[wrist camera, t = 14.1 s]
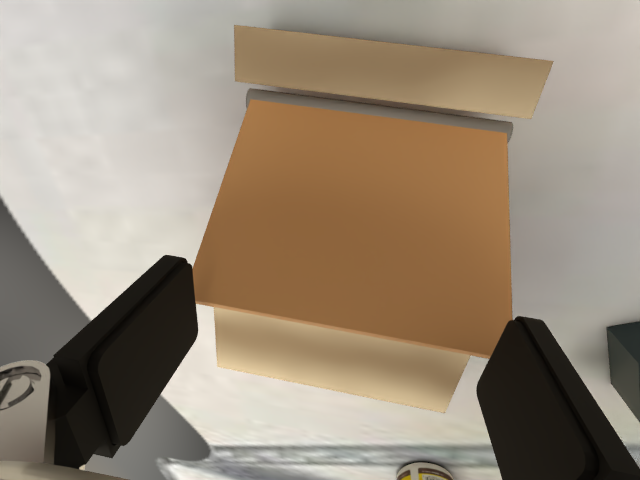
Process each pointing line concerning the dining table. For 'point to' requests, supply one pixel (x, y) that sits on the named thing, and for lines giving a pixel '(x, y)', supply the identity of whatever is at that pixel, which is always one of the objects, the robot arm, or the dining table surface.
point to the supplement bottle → (423, 472)
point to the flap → (364, 222)
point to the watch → (626, 363)
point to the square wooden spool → (383, 84)
